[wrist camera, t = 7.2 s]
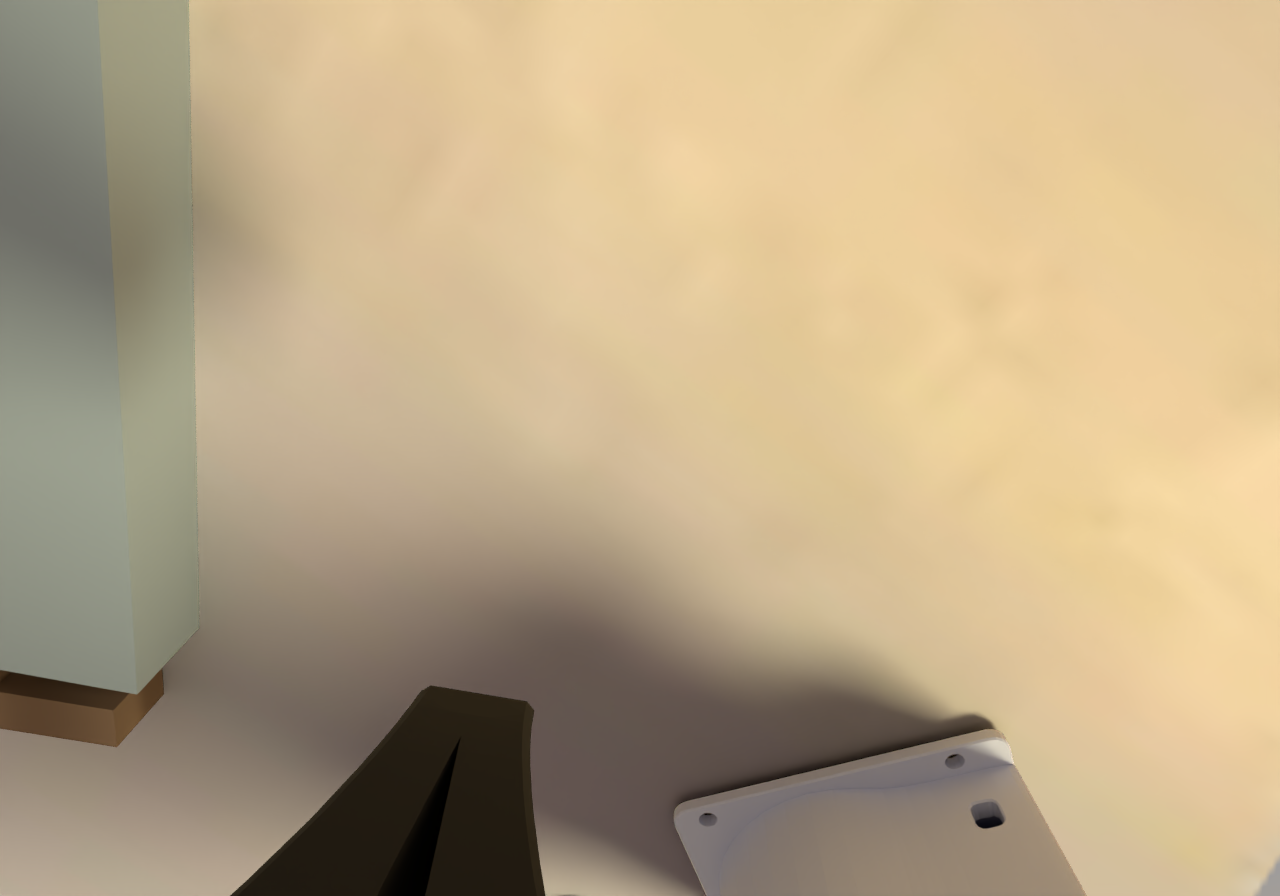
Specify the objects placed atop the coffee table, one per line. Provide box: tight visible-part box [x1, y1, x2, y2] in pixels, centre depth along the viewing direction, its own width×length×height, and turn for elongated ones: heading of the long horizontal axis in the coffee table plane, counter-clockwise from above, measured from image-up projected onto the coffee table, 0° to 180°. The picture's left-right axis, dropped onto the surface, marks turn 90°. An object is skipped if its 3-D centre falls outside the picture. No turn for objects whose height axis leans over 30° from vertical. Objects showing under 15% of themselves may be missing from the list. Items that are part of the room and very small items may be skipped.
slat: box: [0, 0, 199, 694], centre depth 17 cm, size 4×16×3 cm, turn 168°
